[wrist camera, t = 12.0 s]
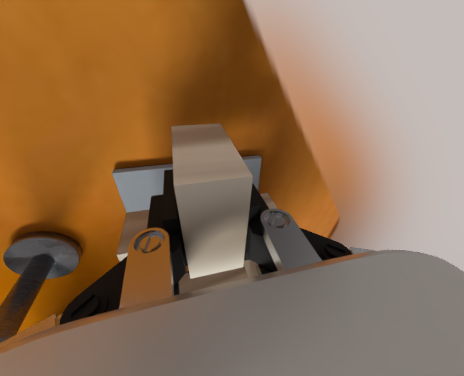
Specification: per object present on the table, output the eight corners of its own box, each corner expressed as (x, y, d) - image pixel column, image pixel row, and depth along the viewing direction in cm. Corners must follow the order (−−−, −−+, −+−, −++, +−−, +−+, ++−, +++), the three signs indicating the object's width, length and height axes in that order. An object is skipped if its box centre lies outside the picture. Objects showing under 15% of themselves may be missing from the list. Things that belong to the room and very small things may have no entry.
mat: (113, 169, 15) (112, 173, 15) (259, 155, 18) (261, 158, 18) (145, 258, 22) (145, 263, 21) (250, 238, 24) (252, 242, 24)
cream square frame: (94, 130, 9) (37, 201, 5) (279, 119, 11) (342, 165, 7) (156, 288, 17) (153, 361, 13) (254, 266, 19) (277, 324, 15)
